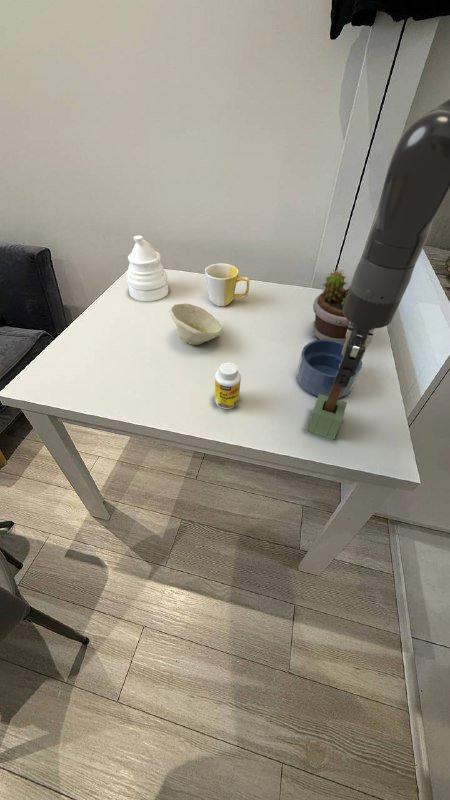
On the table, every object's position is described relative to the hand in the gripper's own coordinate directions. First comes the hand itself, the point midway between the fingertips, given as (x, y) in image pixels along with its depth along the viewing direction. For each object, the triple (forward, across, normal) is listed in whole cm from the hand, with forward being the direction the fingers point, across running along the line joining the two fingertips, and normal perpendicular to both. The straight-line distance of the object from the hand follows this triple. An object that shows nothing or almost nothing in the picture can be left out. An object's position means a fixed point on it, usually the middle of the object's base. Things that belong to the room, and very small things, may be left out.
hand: (343, 372), depth 60 cm
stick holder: (+16, 0, 0) cm, 16 cm away
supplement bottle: (+16, -2, +22) cm, 27 cm away
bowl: (+16, +16, +39) cm, 45 cm away
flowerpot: (+16, +34, +5) cm, 38 cm away
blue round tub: (+16, +14, +3) cm, 21 cm away
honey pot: (+16, +32, +66) cm, 75 cm away
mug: (+16, +38, +40) cm, 57 cm away
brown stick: (+16, 0, 0) cm, 16 cm away
